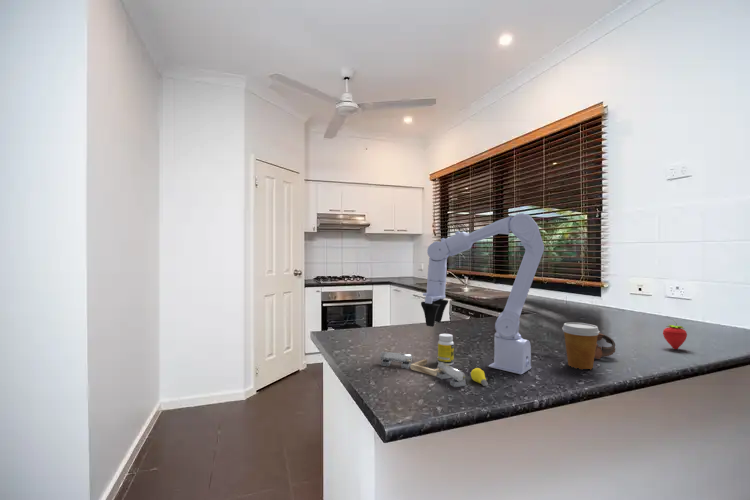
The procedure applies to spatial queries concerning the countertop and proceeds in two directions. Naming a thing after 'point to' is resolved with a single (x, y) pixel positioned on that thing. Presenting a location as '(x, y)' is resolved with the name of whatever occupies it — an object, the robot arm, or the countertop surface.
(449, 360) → the supplement bottle
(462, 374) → the shaft
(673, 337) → the strawberry
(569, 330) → the disposable coffee cup
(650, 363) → the countertop surface
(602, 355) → the pottery mug
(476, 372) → the light bulb
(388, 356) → the grey bar handle
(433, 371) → the coupling seat
